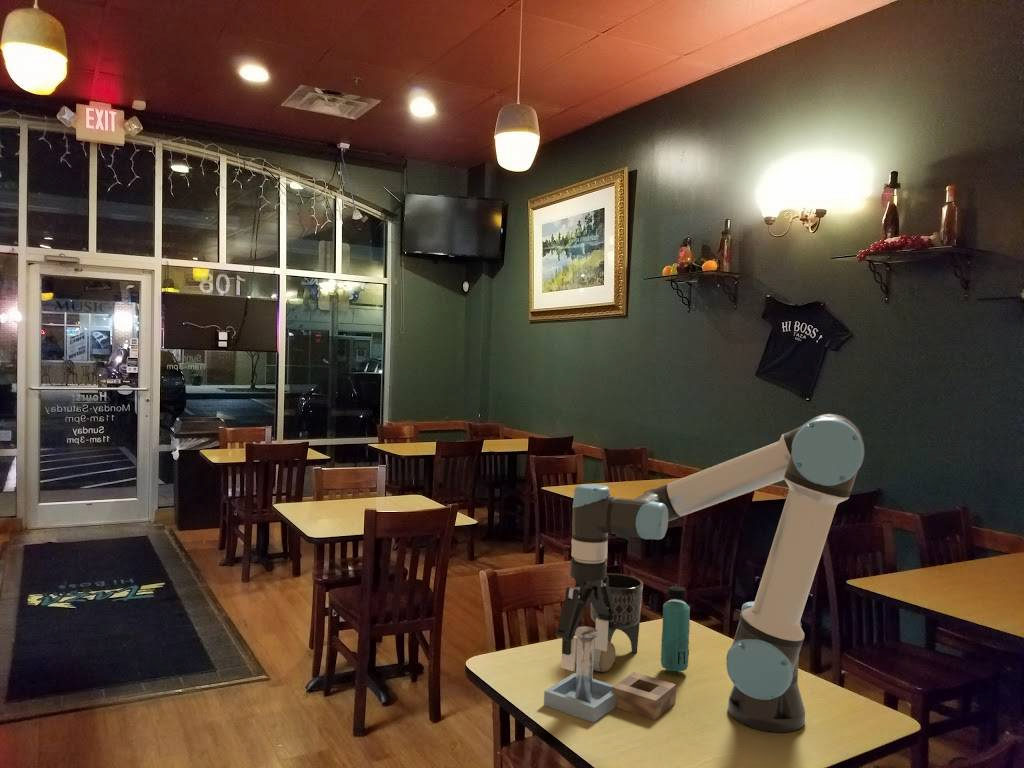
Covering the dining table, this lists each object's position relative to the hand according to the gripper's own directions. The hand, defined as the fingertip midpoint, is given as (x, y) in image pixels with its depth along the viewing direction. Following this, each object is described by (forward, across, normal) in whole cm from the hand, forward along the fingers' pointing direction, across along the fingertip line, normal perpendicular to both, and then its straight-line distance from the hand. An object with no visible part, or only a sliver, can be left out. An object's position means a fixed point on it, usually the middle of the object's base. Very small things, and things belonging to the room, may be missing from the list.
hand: (585, 659), depth 161 cm
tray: (+9, 0, 0) cm, 9 cm away
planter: (+10, -30, -9) cm, 33 cm away
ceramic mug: (+10, -19, -8) cm, 23 cm away
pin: (+9, 0, 0) cm, 9 cm away
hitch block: (+9, -8, +10) cm, 16 cm away
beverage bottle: (+10, -28, +8) cm, 31 cm away
